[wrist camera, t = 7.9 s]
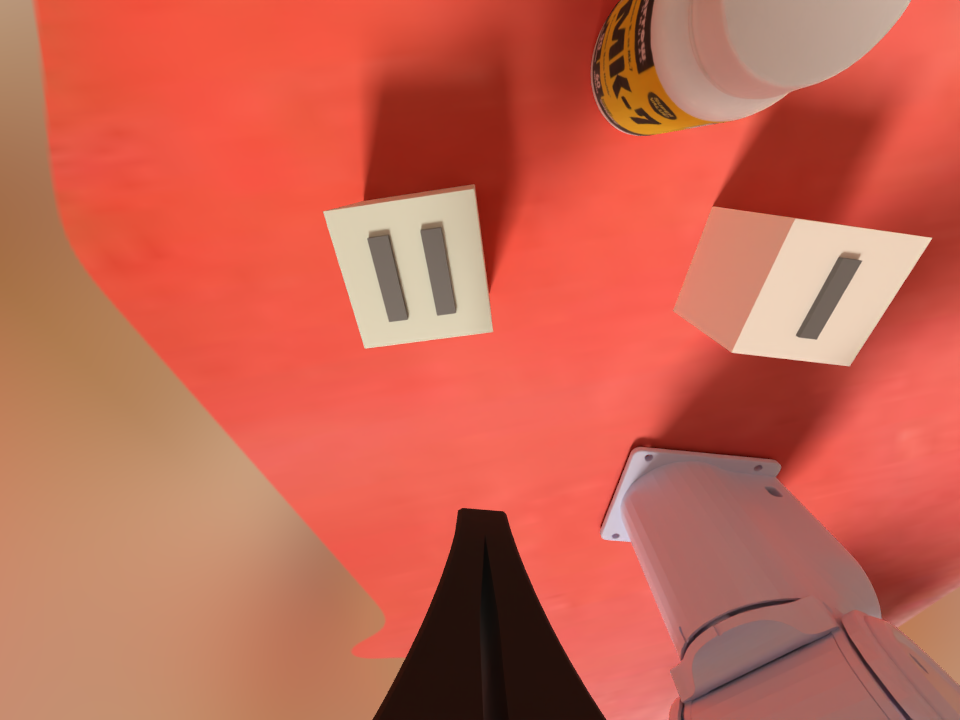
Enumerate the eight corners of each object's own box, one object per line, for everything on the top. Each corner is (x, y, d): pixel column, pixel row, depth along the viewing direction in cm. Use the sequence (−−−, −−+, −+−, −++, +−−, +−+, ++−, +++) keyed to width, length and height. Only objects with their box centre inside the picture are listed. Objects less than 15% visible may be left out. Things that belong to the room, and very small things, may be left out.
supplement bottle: (570, 30, 14) (679, -133, 7) (697, -47, 13) (994, -338, 6) (609, 159, 16) (726, 150, 8) (721, 101, 15) (965, 32, 8)
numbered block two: (474, 184, 16) (474, 189, 12) (489, 293, 19) (493, 333, 14) (364, 200, 17) (320, 212, 12) (391, 306, 19) (363, 350, 14)
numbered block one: (814, 220, 17) (939, 239, 13) (764, 321, 19) (853, 368, 15) (711, 206, 17) (799, 219, 12) (672, 310, 19) (734, 354, 15)
